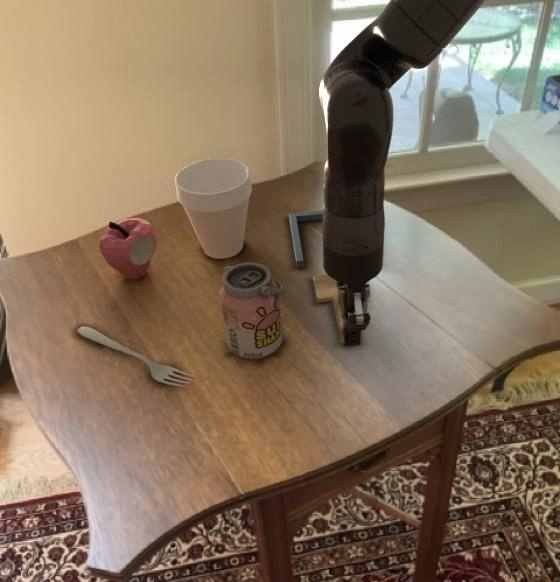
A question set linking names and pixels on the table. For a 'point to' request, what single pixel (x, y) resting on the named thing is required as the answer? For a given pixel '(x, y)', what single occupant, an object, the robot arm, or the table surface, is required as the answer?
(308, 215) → the u-shaped stop
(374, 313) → the table surface
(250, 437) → the table surface
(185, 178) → the cup
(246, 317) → the beverage can
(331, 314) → the table surface
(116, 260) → the apple
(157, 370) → the fork
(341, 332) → the t-shaped block
